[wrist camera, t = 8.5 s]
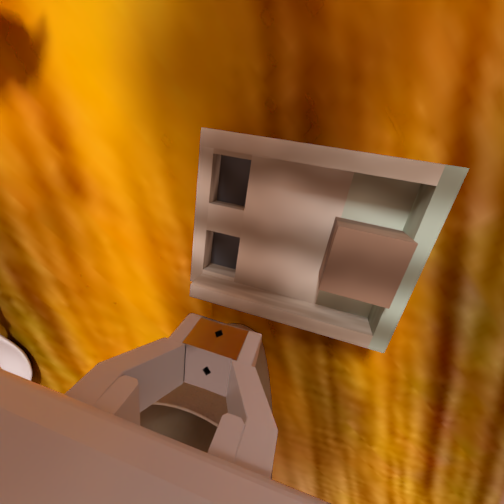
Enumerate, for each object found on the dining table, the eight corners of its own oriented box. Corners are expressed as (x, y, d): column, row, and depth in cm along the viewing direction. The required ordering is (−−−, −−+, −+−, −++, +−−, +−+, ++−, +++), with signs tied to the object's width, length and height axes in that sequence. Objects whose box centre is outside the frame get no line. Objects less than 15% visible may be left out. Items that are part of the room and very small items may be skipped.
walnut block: (335, 216, 24) (338, 226, 20) (402, 230, 22) (418, 243, 19) (318, 271, 26) (318, 289, 22) (378, 287, 25) (389, 308, 21)
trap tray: (211, 132, 26) (185, 124, 21) (435, 167, 22) (469, 168, 17) (199, 272, 33) (177, 292, 28) (372, 320, 29) (384, 353, 24)
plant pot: (273, 400, 37) (243, 555, 22) (184, 361, 39) (103, 479, 24) (308, 323, 31) (298, 464, 16) (201, 281, 33) (108, 374, 18)
